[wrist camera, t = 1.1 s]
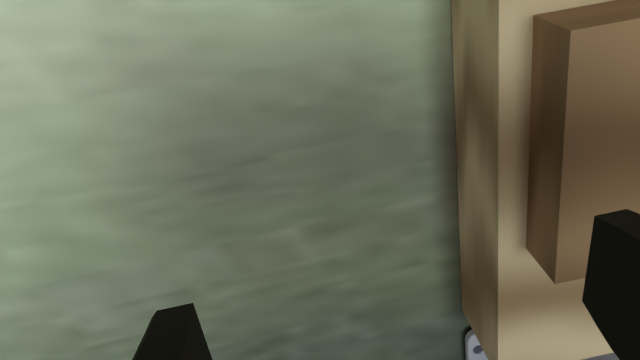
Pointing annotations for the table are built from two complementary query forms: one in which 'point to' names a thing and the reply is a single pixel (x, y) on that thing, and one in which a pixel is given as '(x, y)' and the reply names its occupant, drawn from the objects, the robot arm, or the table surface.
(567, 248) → the walnut tile
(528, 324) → the birch deck
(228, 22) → the table surface
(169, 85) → the table surface
